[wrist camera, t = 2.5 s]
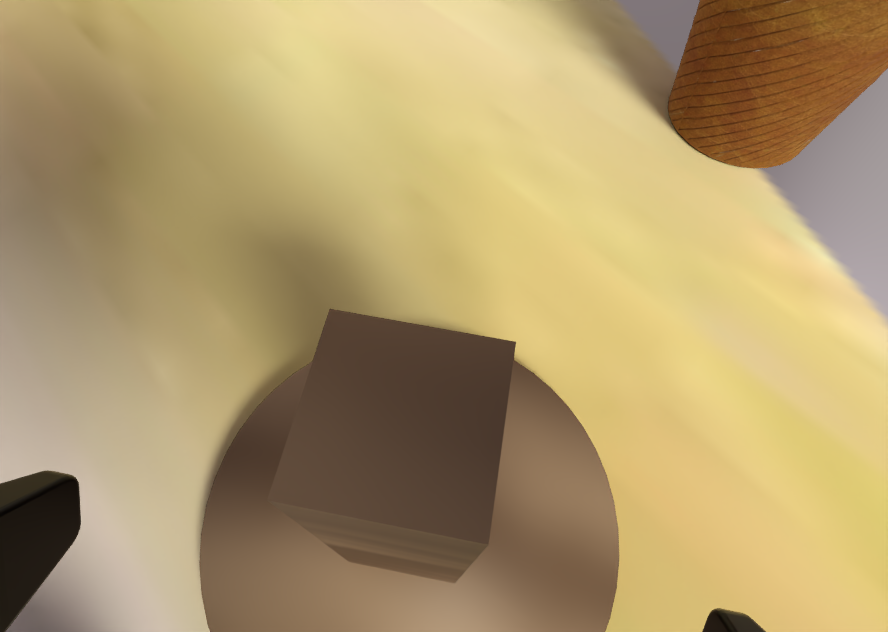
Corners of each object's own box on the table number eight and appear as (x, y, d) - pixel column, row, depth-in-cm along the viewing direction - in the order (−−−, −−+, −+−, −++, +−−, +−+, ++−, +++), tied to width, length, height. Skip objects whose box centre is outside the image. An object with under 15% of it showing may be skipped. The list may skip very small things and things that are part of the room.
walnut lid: (602, 822, 14) (927, 1194, 5) (137, 716, 14) (-317, 872, 6) (616, 376, 19) (777, 175, 11) (285, 317, 20) (176, 81, 11)
